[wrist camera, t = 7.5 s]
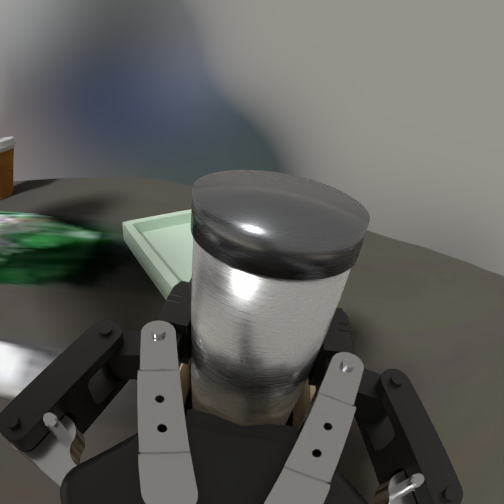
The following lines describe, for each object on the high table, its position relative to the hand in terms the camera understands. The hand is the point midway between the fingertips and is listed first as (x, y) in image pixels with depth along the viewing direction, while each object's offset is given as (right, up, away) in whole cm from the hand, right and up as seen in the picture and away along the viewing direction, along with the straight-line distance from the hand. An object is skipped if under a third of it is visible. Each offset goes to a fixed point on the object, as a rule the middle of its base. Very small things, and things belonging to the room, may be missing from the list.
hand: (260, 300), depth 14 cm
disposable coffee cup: (-54, +14, +32) cm, 64 cm away
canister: (-2, -10, +3) cm, 10 cm away
